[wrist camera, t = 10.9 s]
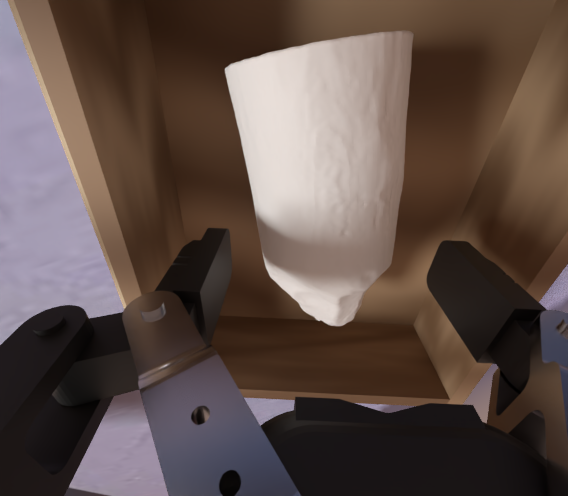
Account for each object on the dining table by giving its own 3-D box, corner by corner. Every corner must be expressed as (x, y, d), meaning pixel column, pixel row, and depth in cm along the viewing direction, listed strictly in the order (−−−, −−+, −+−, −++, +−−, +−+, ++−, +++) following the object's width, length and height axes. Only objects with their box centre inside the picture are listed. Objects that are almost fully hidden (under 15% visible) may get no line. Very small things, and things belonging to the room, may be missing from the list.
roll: (280, 288, 17) (276, 367, 13) (237, 69, 11) (197, 61, 6) (374, 279, 17) (407, 358, 12) (385, 43, 11) (463, 13, 6)
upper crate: (123, -48, 10) (-54, -182, 5) (572, -23, 10) (863, -128, 5) (192, 313, 20) (158, 393, 15) (416, 324, 20) (458, 408, 15)
